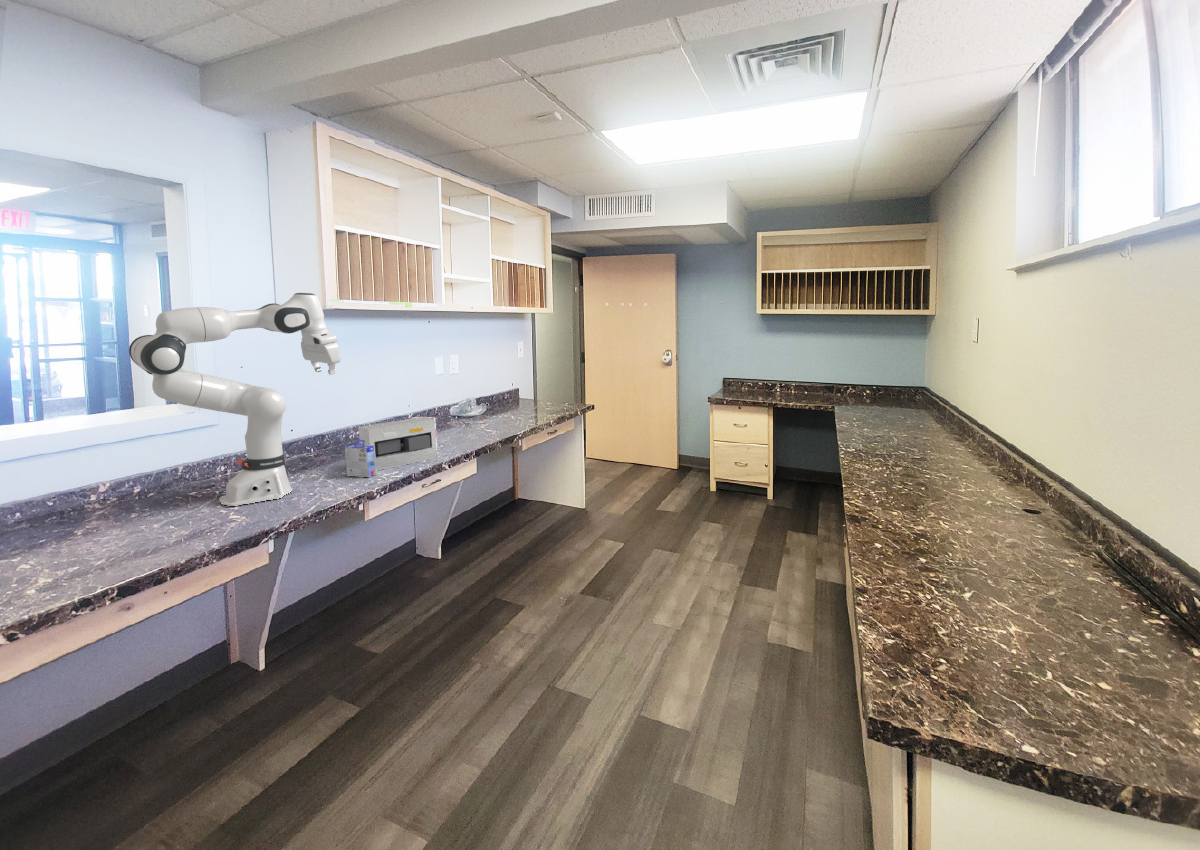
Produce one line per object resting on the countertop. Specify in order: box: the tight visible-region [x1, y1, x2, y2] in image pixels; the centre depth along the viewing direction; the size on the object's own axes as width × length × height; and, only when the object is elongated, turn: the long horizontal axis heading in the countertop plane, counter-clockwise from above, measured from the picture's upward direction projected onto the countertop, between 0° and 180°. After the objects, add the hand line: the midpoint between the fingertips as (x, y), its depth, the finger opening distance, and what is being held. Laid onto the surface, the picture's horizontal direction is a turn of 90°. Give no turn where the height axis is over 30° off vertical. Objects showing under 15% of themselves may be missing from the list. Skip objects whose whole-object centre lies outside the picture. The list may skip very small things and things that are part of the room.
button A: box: [374, 438, 401, 455], centre depth 240 cm, size 10×5×5 cm, turn 137°
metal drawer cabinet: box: [357, 416, 438, 472], centre depth 245 cm, size 30×9×18 cm, turn 137°
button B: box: [403, 434, 430, 451], centre depth 247 cm, size 10×5×5 cm, turn 137°
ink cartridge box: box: [344, 439, 377, 478], centre depth 227 cm, size 10×6×14 cm, turn 79°
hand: (325, 373), depth 215 cm, fingers open, 8 cm apart
